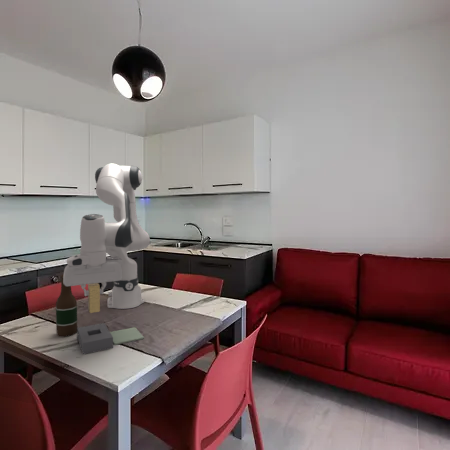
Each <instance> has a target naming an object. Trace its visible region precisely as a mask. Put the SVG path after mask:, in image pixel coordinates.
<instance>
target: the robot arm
mask: <svg viewBox="0 0 450 450" xmlns="http://www.w3.org/2000/svg"><path fill="white" fill-rule="evenodd" d="M94 179H95V183H96V186H95V193H96V195H97V197H98V199H99V200H100V201H101V202H103V203H104V204H106V205H109V206H112V207H113V209H112V210H113V218H114V220H115V222H109V221H108V222H106V221H105V217H104V215H102V214H99V213H98V214H95V213H91V214H86V215H84V216H82V218H81V222H80V229H79V231H80V232H79V239H80V243H81V246H80V249H79V250H80V251H79V252H80V253H79V254H74V255H71V256H70V257H68V258H66V264H67V265H65V267H64V269H63V274H64V276H63V284H64V285H65V286H71V287H75V286H80V288H81V289H82V291H83V292H84V297H88V296H89V290H88V289H87V290H86V287H87V285H88V284H94V283H98V284H100V283H101V287H100V295H104V290H105V288H106V286H107V283H111V282H113V287H112V289H111V291H109V292H108V298H107V300H106V301H107V305H106V306H107V307H106V308H108V309H119V310H121V309H122V310H123V309H124V310H125V309H133V308H137V307H139V306H140V305H141V304H143V303H145V300H144V299H142V287H141V286H139V277H138V263H137V261H135V259H133V258H131V257H128V252H135V251H136V252H138V251H141V250H144V249H147V248H148V247H149V245H150V242H151V239H150V238H151V237H150V235H149V233H148V232H147V231H146V229H144V228H142V226H141V225H140V223H139V220H138V217H137V205H136V194H135V191H136V190H137V188H139V187H140V186H141V185H142V180H143V173H142V171H141V169H140V167H139V166H135V165H119V164H117V163H113V162H112V163H107V164H105V165H104V166H103V167H99V168H97V170H95V173H94ZM107 255H108V257H107Z"/></svg>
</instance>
